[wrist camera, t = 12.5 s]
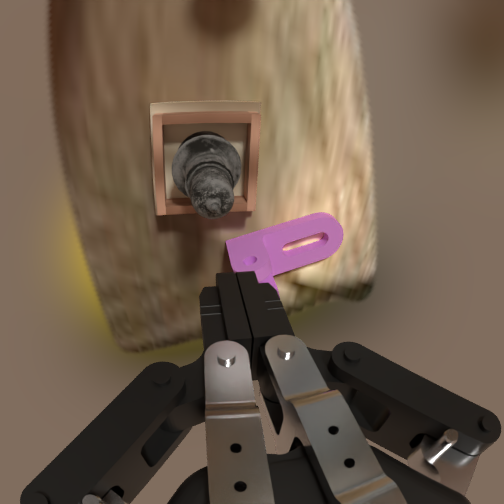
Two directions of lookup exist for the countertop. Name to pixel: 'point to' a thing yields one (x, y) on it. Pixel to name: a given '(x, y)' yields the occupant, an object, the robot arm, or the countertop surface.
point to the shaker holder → (196, 120)
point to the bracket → (274, 238)
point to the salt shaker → (207, 173)
